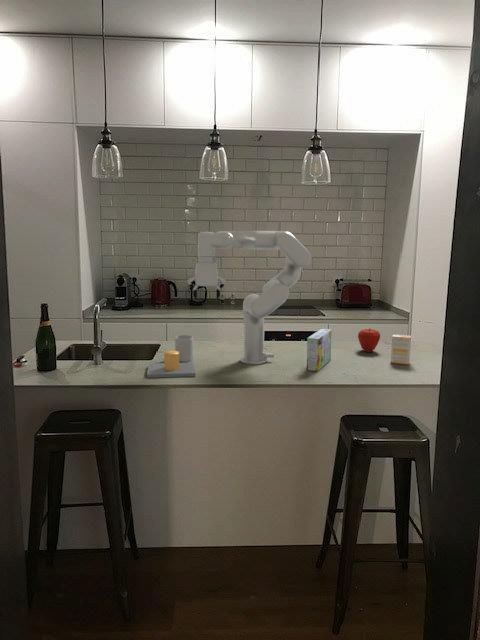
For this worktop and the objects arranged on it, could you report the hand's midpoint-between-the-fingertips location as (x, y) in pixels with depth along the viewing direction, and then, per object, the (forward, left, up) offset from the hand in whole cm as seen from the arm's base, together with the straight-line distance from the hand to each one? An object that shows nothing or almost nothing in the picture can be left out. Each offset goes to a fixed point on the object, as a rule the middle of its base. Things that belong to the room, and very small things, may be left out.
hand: (206, 298), depth 223 cm
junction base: (+16, +10, -30) cm, 36 cm away
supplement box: (-90, +6, -31) cm, 95 cm away
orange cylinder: (+16, +10, -29) cm, 34 cm away
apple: (-83, -16, -31) cm, 90 cm away
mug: (+10, -10, -31) cm, 34 cm away
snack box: (-51, +6, -31) cm, 60 cm away
